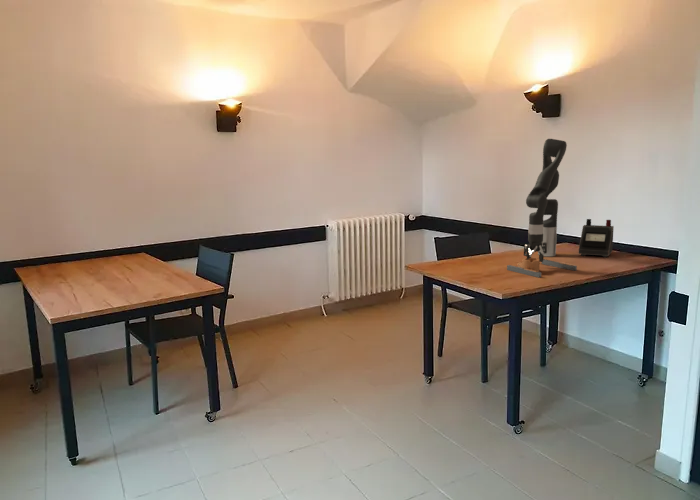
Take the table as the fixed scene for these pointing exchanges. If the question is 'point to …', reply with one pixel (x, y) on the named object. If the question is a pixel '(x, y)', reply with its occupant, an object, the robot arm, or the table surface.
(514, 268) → the guide rails
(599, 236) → the voltmeter
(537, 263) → the bracket
